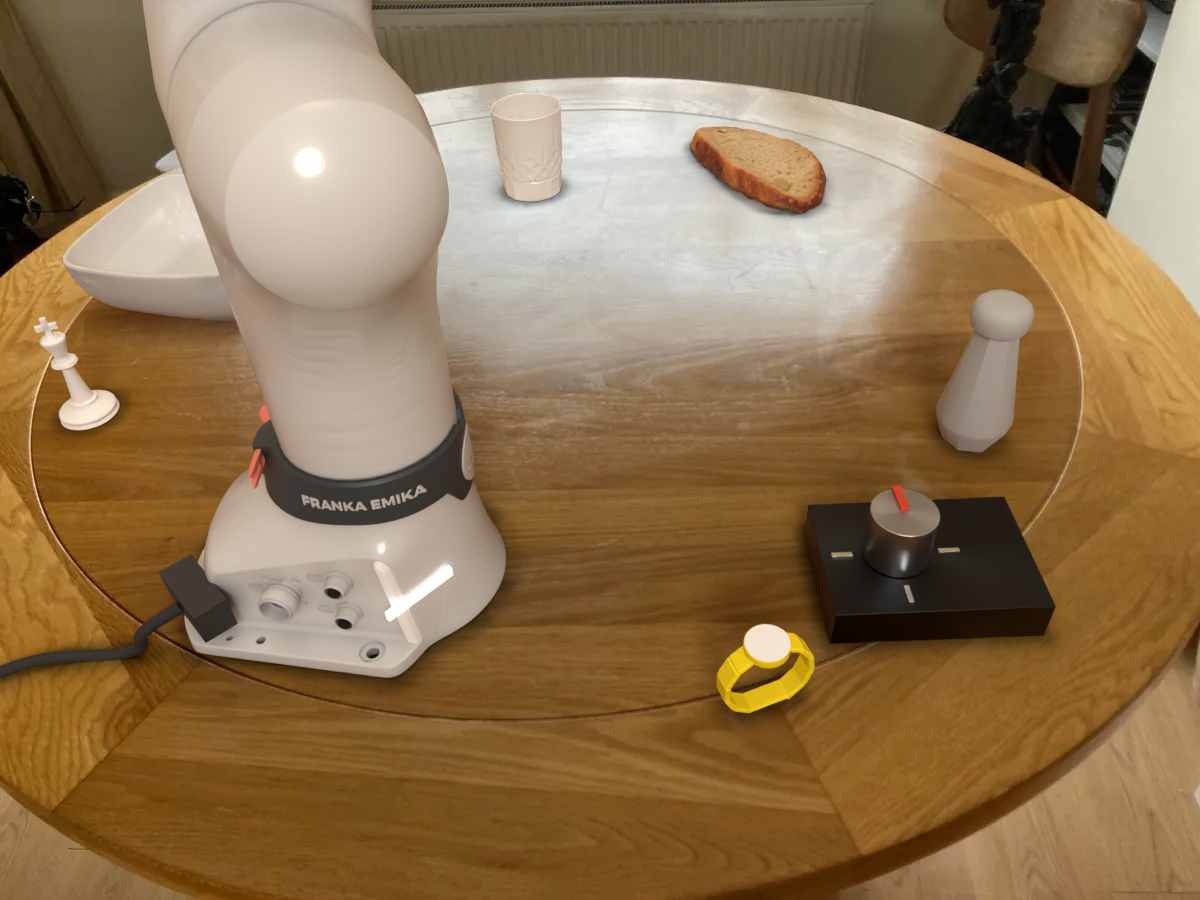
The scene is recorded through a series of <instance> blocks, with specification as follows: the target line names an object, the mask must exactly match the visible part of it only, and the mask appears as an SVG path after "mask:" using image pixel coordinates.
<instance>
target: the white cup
mask: <svg viewBox="0 0 1200 900" xmlns="http://www.w3.org/2000/svg"><path fill="white" fill-rule="evenodd" d="M489 109H490V116H491V122H492V126H493V127H492V129H493V134H494V142H495V147H496V152H497V153H496V154H497V159H498V163H499V167H500V168H499V169H500V172H501V175H502V181H503V182H502V183H503V188H504V191H505V193H506V195H507V196H508V197H509V198H512V199H513V200H515V201H521V202H527V203H529V202H531V203H532V202H540V201H545V200H548V199H551V198H553V197H554V196H556V195H558V194H559V193H560V191H561V189H562V187H563V177H562V175H563V174H562V165H563V155H562V153H563V136H562V130H563V129H562V102H561V101H560V99H558V98H557V97H555V96H553V95H551V94H548V93H544V92H543V93H542V92H518V93H514V94H509V95H506V96H503V97H501V98H498V99H497V100H495V101H494V102H493V103H492V104H491V105H490V108H489Z"/></svg>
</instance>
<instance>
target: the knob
mask: <svg viewBox="0 0 1200 900" xmlns="http://www.w3.org/2000/svg"><path fill="white" fill-rule="evenodd" d="M870 502H871V505H870V510H869V514H868V519H867V524H866V529H865V534H864V539H863V544H862V553H863V556H864V558H865V560H866V561H867V563H868V564H869V565H870V566H871V567H872V568H874V569H875V570H877V571H878V572H880V573H882V574H885V575H888V576H891V577H899V578H905V577H911V576H914V575H917V574H919V573H920V572H922V571H923V570H924V569H925V568H926V566H927V565H928V562H929V559H930V555H931V552H932V548H933V544H934V541H935V537H936V534H937V530H938V526H939V523H940V512H939V510H938V508H937V506H936V505H935V503H934V502H933V501H932V498H931V499H930V498H929V497H928V496H927V495H926V494H923V493H921V492H919V491H916V490H913V489H909V488H902V486H901V485H900V484H897V485H892V486H891V488H889V489H886V490H882V491H881V492H879V493H878V494H876V495H875V497H873V498H872V500H871V501H870Z"/></svg>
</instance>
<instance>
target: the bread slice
mask: <svg viewBox="0 0 1200 900" xmlns="http://www.w3.org/2000/svg"><path fill="white" fill-rule="evenodd" d="M689 149H690V150H691V151H692V152H693V154H694V155H695V157H696V159H697V161H699V162H701V164H702V166H704V167H706V168H707V169H708V171H710V172H711V173H713V174H714V176H715V177H717V179H719V180H721V182H722V183H724V184H725V185H726V186H728V187H729V188H731V189H732V190H734V191H735V192H736V193H741V194H743V195H744V196H745V197H746V198H747V199H748V200H752V201H753V200H754V201H757V202H758V203H760V204H762V205H764V206H765V207H766V208H770V209H775V210H776V211H777V210H778V211H782V212H792V213H796V214H801V213H802V214H804V213H807V212H808V211H810V210H812V209H815V208H816V207H818V206H819V205H820V204H822V202H823V200H824V197H825V196H824V195H825V192H826V186H827V175H826V172H825V169H824V167H823V164H822V162H821V161H820V159H819V158H818V157H817V156H816V155H815V154H814V152H813V151H812V150H810V149H808V147H805V146H802V145H801V144H800V143H798V142H795V141H794V140H791V139H787V138H780V137H778V136H776V135H773V134H770V133H767V132H762V131H759V130H756V129H749V128H742V127H737V126H706V127H705V126H704V127H700V128H698V129H696V131H695V133H694V135H693V137H692V139H691V142H690V144H689Z"/></svg>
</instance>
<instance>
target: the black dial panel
mask: <svg viewBox="0 0 1200 900" xmlns="http://www.w3.org/2000/svg"><path fill="white" fill-rule="evenodd" d="M931 500H932V501H933V502H934V503H935V505H936V506H937V508H938V510H939V512H940V523H939V526H938V530H937V534H936V537H935V541H934V544H933V548H932V552H931V555H930V559H929V562H928V565H927V566H926V568H925V569H924V570H923V571H922V572H920V573H919V574H917V575H914V576H911V577H905V578H899V577H891V576H888V575H885V574H882V573H880V572H878V571H877V570H875V569H874V568H872V567H871V566H870V565H869V564H868V563H867V561H866V560H865V558H864V556H863V553H862V544H863V539H864V534H865V529H866V524H867V519H868V514H869V510H870V505H871V502H872V501H864V502H861V501H860V502H840V503H837V502H836V503H815V504H814V503H812V504H808V505H807V509H806V516H805V523H804V531H803V535H804V538H805V540H804V541H805V545H806V548H807V552H808V556H809V560H810V564H811V569H812V574H813V577H814V582H815V586H816V590H817V594H818V598H819V602H820V606H821V607H820V608H821V611H822V615H823V619H824V623H825V628H826V632H827V636H828V640H829V644H832V645H833V644H852V643H853V644H854V643H855V644H856V643H857V644H858V643H880V642H881V643H882V642H908V641H932V640H935V641H936V640H958V639H959V640H960V639H984V638H986V639H987V638H1011V637H1034V636H1036V637H1037V636H1044V635H1045V633H1046V631H1047V628H1048V626H1049V624H1050V622H1051V620H1052V617H1053V614H1054V612H1055V610H1056V608H1057V606H1056V603H1055V601H1054V599H1053V597H1052V595H1051V593H1050V591H1049V588H1048V586H1047V584H1046V582H1045V580H1044V577H1043V576H1042V573H1041V572H1040V569H1039V567H1038V564H1037V563H1036V561H1035V559H1034V557H1033V555H1032V552H1031V550H1030V548H1029V546H1028V544H1027V541H1026V540H1025V538H1024V535H1023V533H1022V531H1021V528H1020V527H1019V525H1018V523H1017V520H1016V518H1015V516H1014V514H1013V512H1012V509H1011V508H1010V506H1009V504H1008V501H1007V499H1006V497H1005V496H983V497H980V496H979V497H961V498H960V497H958V498H935V499H933V498H931Z"/></svg>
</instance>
